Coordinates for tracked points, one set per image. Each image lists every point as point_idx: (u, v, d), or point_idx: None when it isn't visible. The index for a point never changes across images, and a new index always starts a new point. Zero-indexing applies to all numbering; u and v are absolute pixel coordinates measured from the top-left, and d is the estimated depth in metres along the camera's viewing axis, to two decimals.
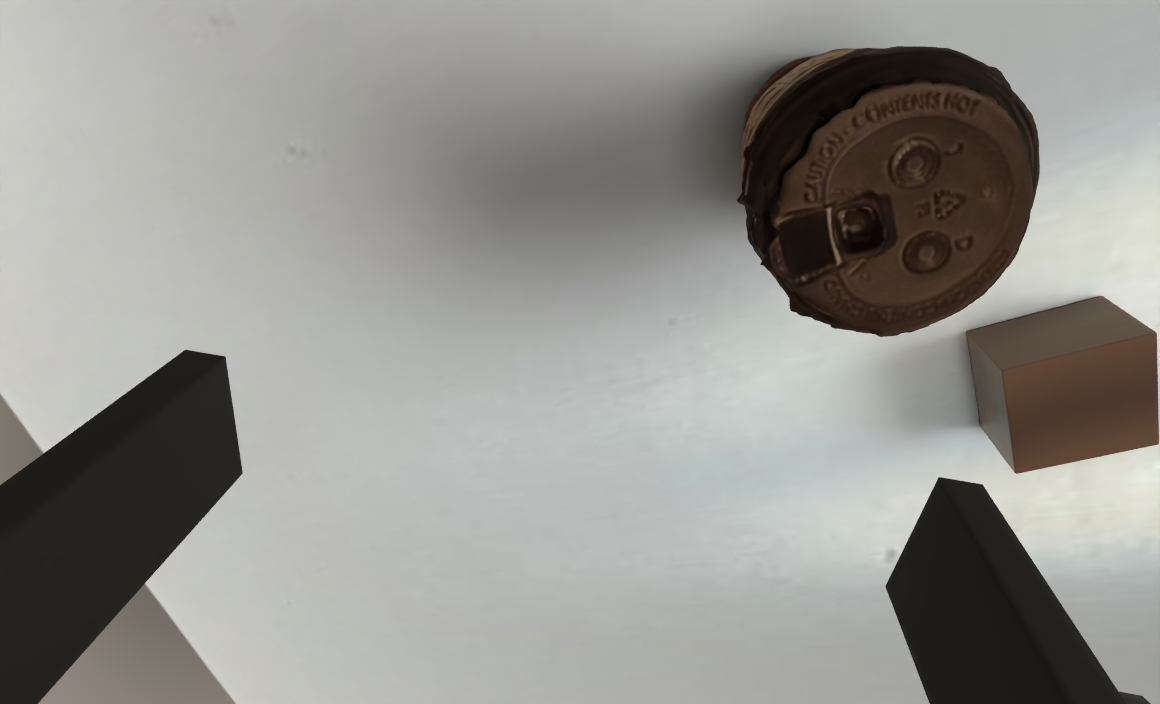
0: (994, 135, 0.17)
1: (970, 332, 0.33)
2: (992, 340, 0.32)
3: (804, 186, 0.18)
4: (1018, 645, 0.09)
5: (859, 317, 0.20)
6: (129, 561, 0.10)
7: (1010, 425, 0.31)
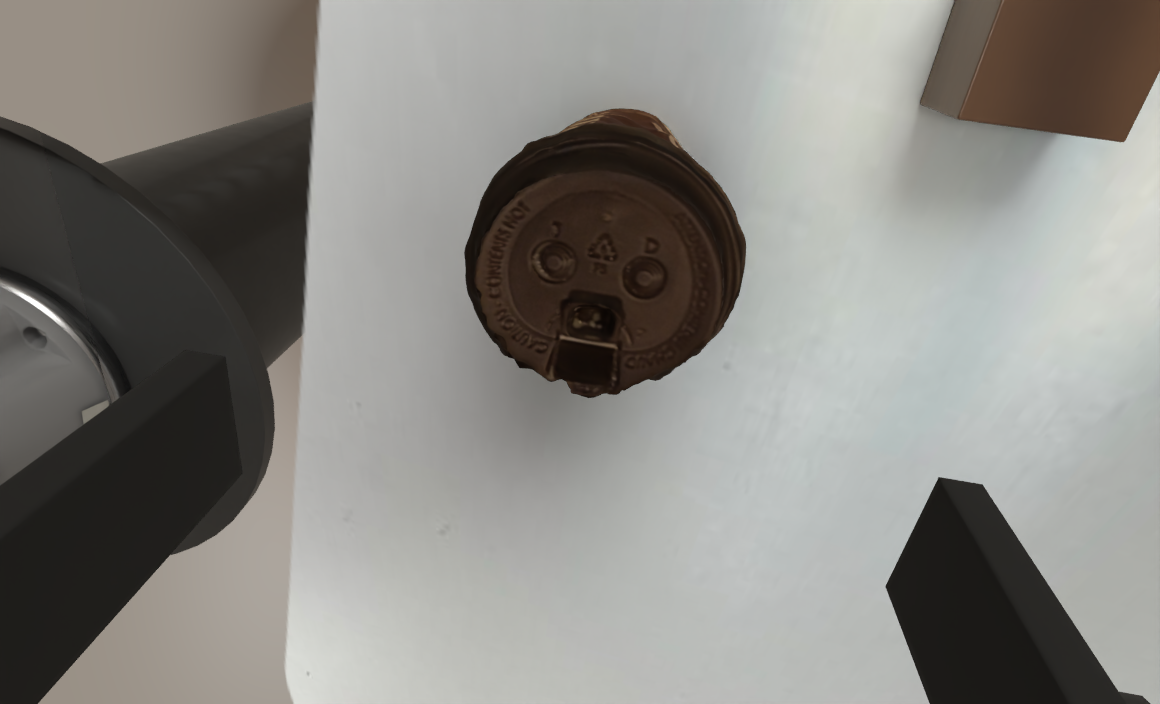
0: (557, 195, 0.18)
1: (922, 101, 0.27)
2: (937, 92, 0.26)
3: (530, 349, 0.20)
4: (1018, 645, 0.09)
5: (676, 352, 0.20)
6: (129, 561, 0.10)
7: (1043, 130, 0.24)
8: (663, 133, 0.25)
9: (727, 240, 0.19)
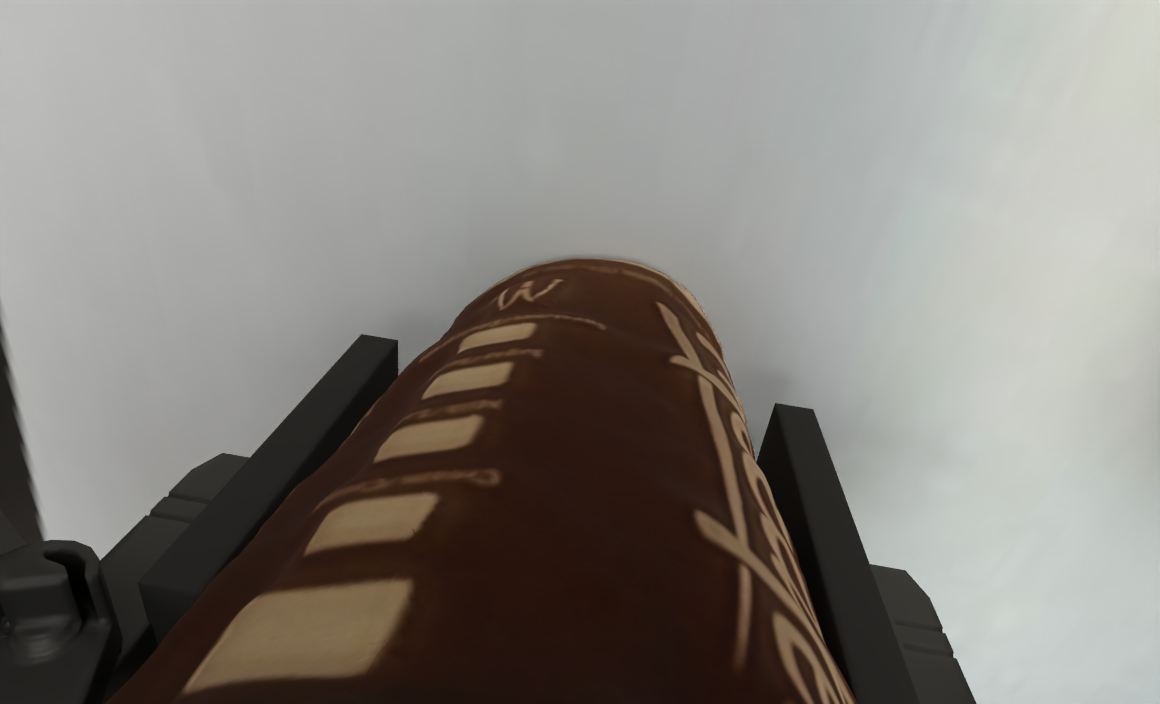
0: None
1: None
2: None
3: None
4: (800, 527, 0.10)
5: None
6: None
7: None
8: (684, 371, 0.10)
9: None
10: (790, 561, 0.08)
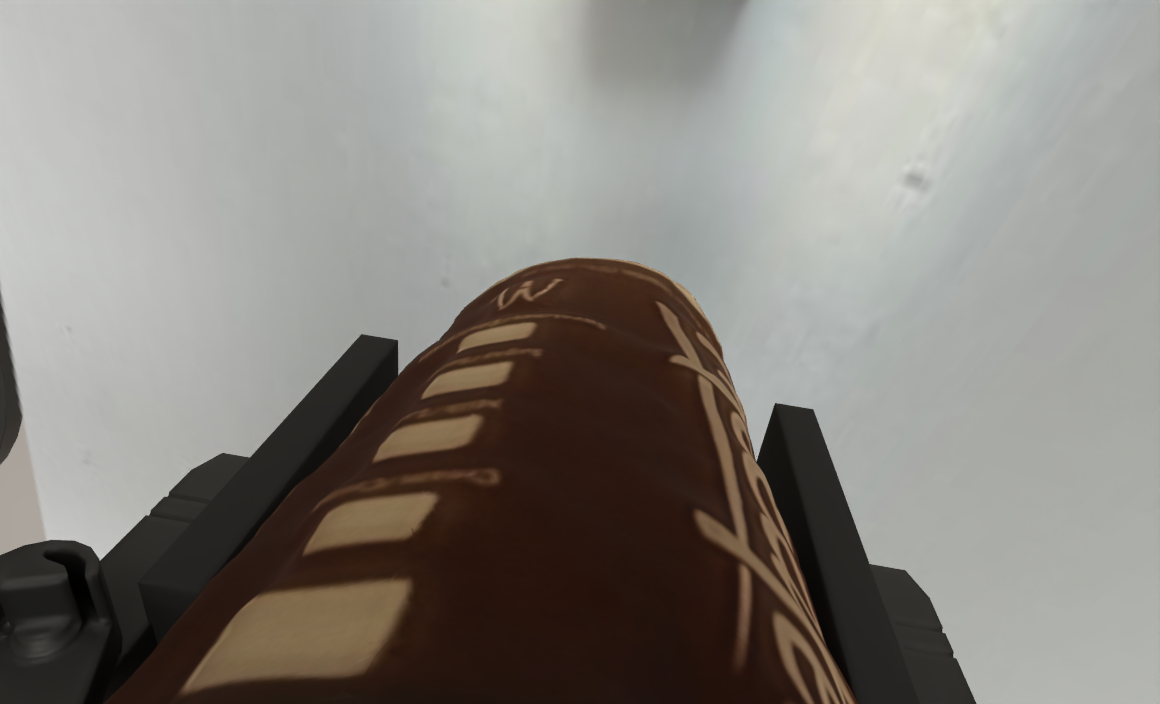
0: None
1: None
2: None
3: None
4: (800, 527, 0.10)
5: None
6: None
7: None
8: (684, 371, 0.10)
9: None
10: (790, 561, 0.08)
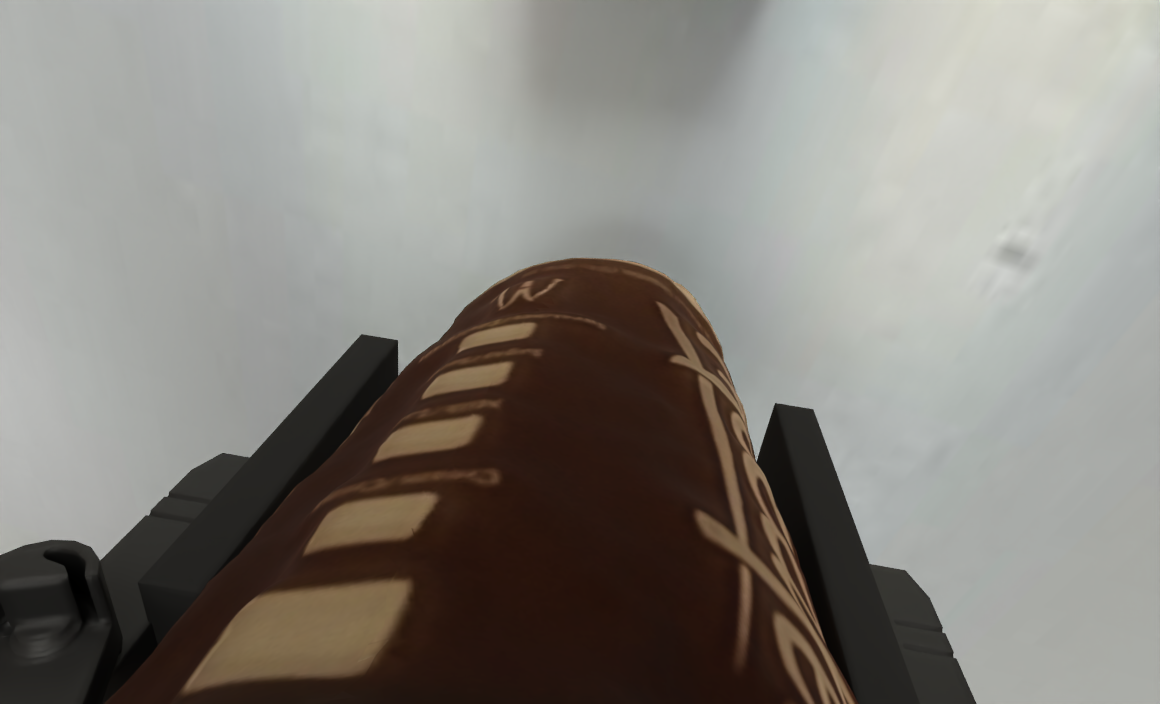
0: None
1: None
2: None
3: None
4: (800, 527, 0.10)
5: None
6: None
7: None
8: (684, 371, 0.10)
9: None
10: (790, 561, 0.08)
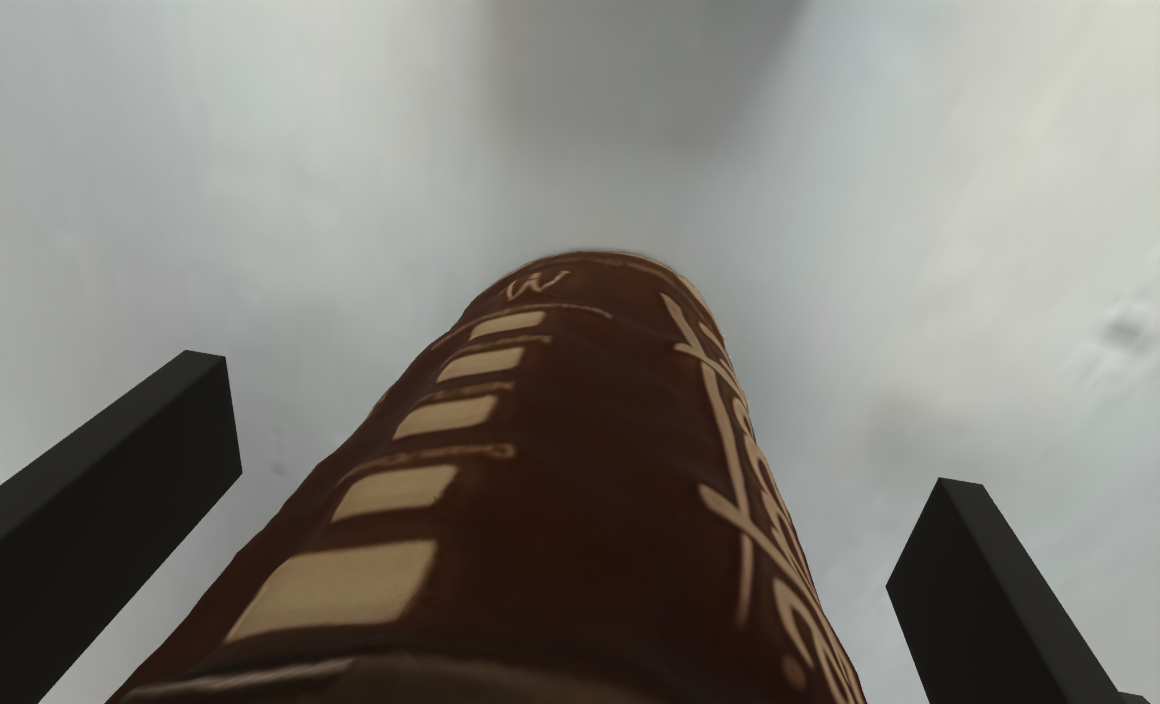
0: None
1: None
2: None
3: None
4: (1018, 645, 0.09)
5: None
6: (129, 561, 0.10)
7: None
8: (688, 358, 0.10)
9: None
10: (790, 536, 0.08)
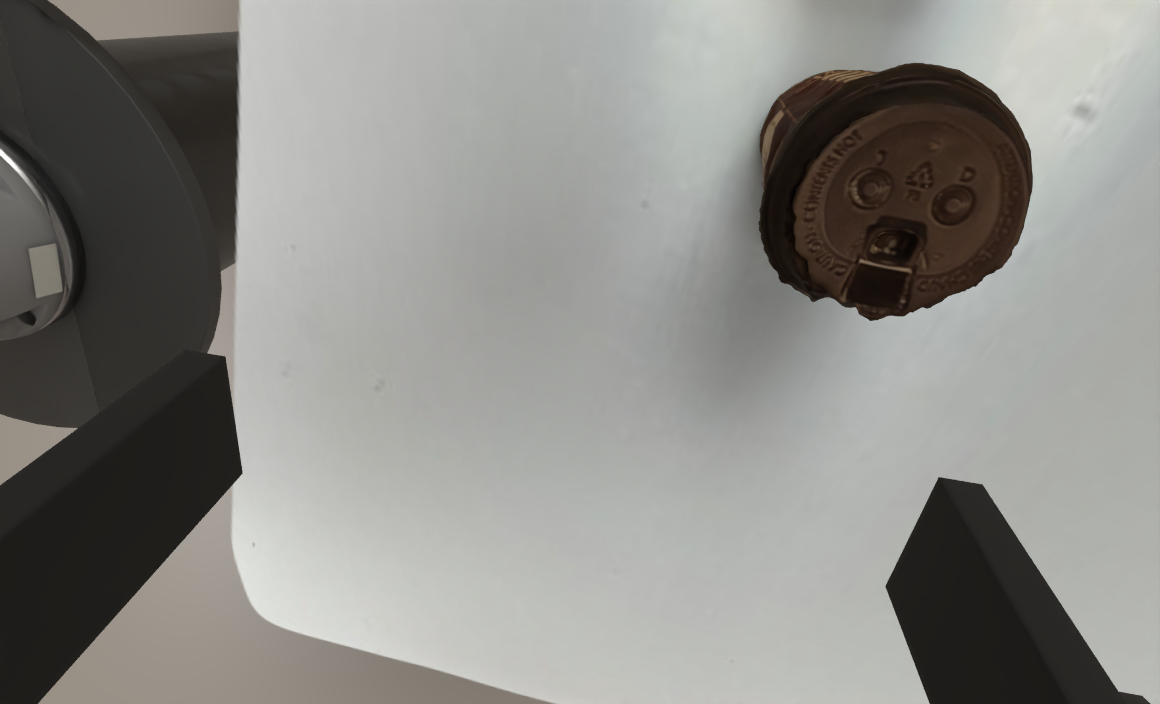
0: (890, 125, 0.20)
1: None
2: None
3: (829, 271, 0.22)
4: (1018, 645, 0.09)
5: (969, 277, 0.22)
6: (129, 561, 0.10)
7: None
8: None
9: None
10: None
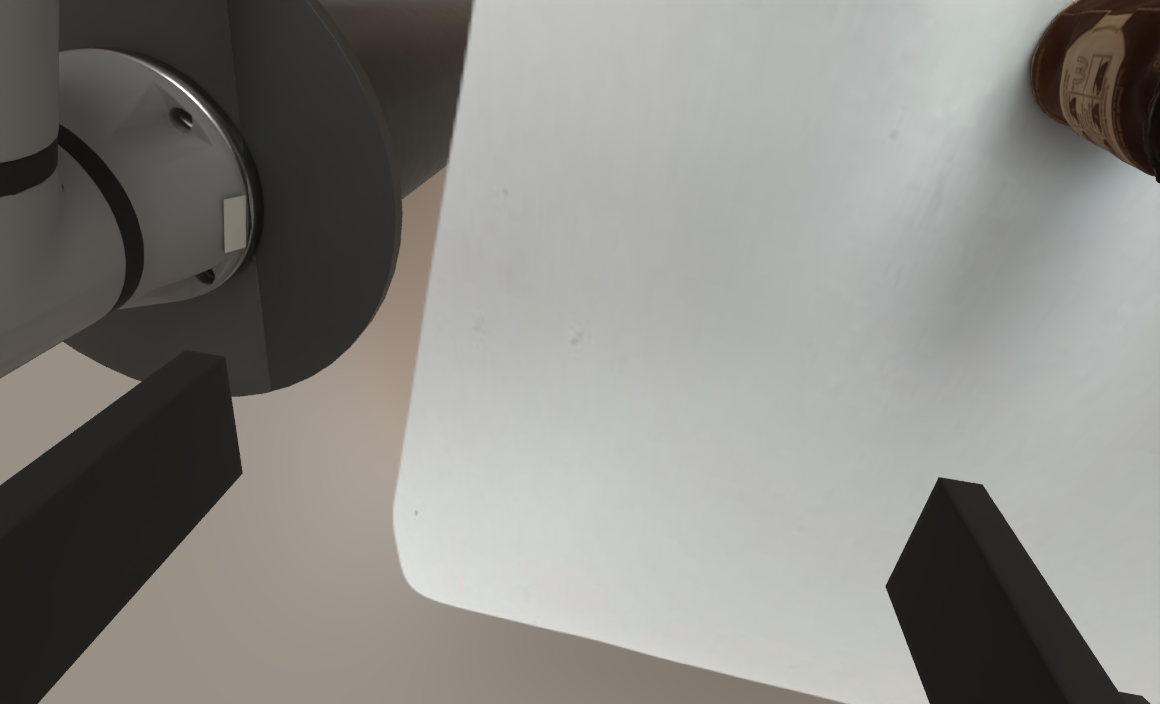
0: None
1: None
2: None
3: None
4: (1018, 645, 0.09)
5: None
6: (129, 561, 0.10)
7: None
8: None
9: None
10: None
